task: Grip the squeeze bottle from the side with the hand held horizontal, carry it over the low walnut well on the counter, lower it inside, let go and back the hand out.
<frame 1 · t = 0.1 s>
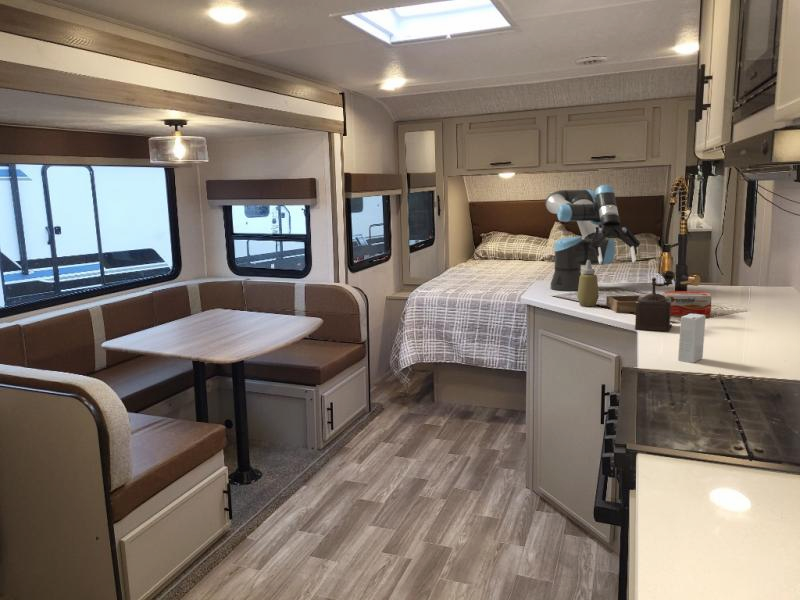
hand: (617, 262, 253), 15 cm above the worktop, tool tilted 35°, fingers open, 13 cm apart
squeeze bottle: (587, 306, 244), on the worktop
skincare box: (690, 360, 166), on the worktop
medicine box: (685, 315, 222), on the worktop
manual coffee grinder: (654, 326, 206), on the worktop
walnut well: (628, 309, 234), on the worktop
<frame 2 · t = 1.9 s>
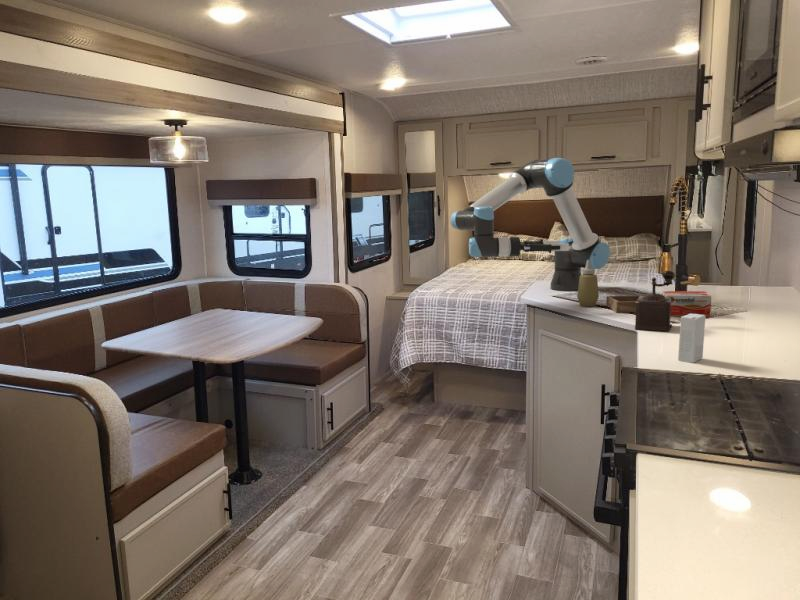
hand: (564, 245, 240), 24 cm above the worktop, tool horizontal, fingers open, 13 cm apart
nothing on the worktop moved.
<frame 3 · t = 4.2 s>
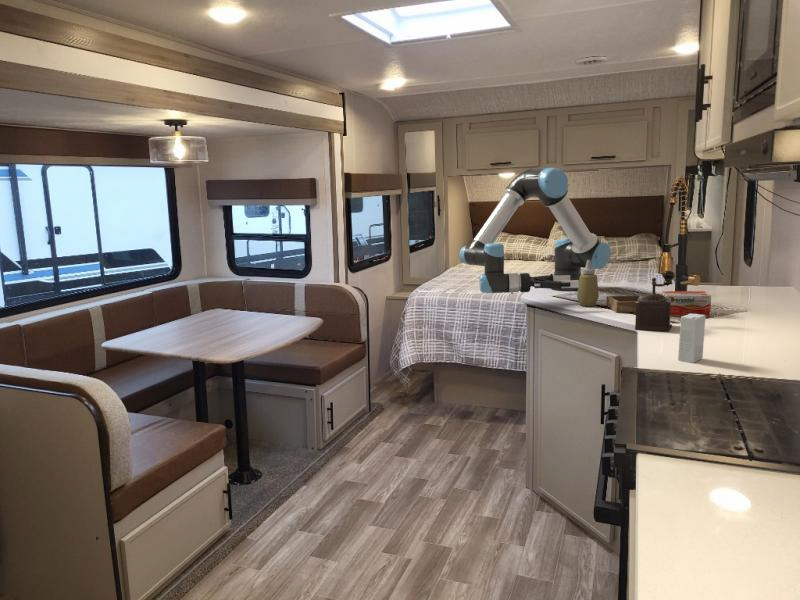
hand: (574, 281, 242), 10 cm above the worktop, tool horizontal, fingers open, 13 cm apart
nothing on the worktop moved.
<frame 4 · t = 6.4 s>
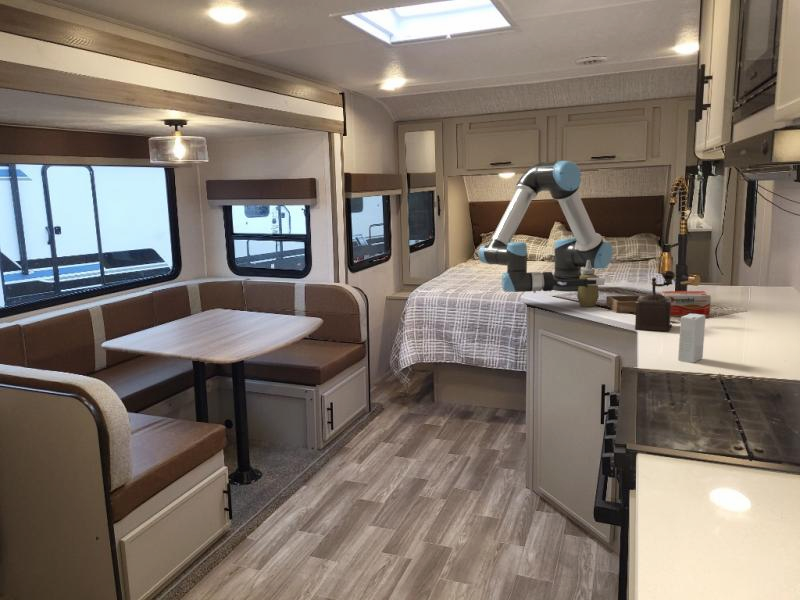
hand: (601, 280, 242), 10 cm above the worktop, tool horizontal, fingers closed on squeeze bottle, 6 cm apart
squeeze bottle: (587, 306, 244), on the worktop, touching gripper
everything else where it was.
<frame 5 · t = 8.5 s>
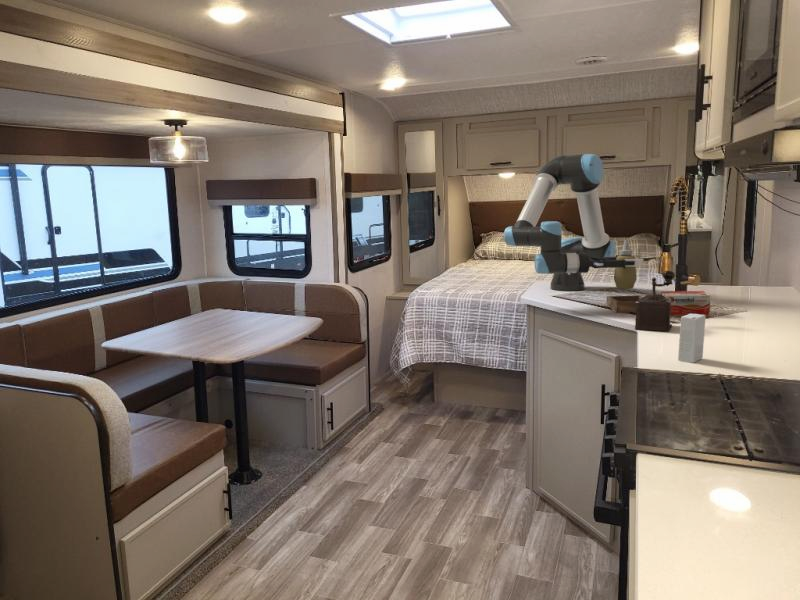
hand: (639, 261, 231), 18 cm above the worktop, tool horizontal, fingers closed on squeeze bottle, 6 cm apart
squeeze bottle: (624, 288, 233), point 8 cm above the worktop, touching gripper
everything else where it was.
when the fingers open (11 cm above the worktop, at t = 10.5 s): squeeze bottle drops 1 cm, resting on walnut well.
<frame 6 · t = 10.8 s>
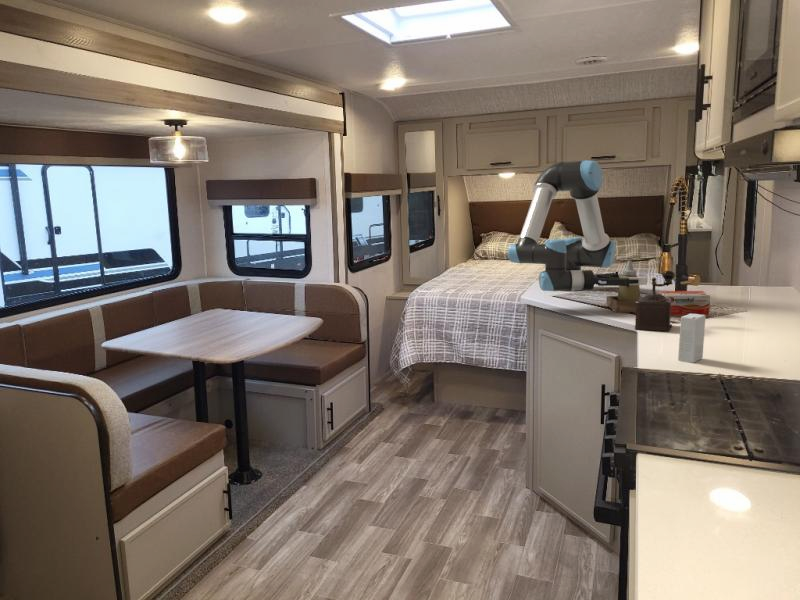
hand: (641, 278, 232), 11 cm above the worktop, tool horizontal, fingers open, 10 cm apart
squeeze bottle: (628, 308, 234), resting on walnut well
everything else where it was.
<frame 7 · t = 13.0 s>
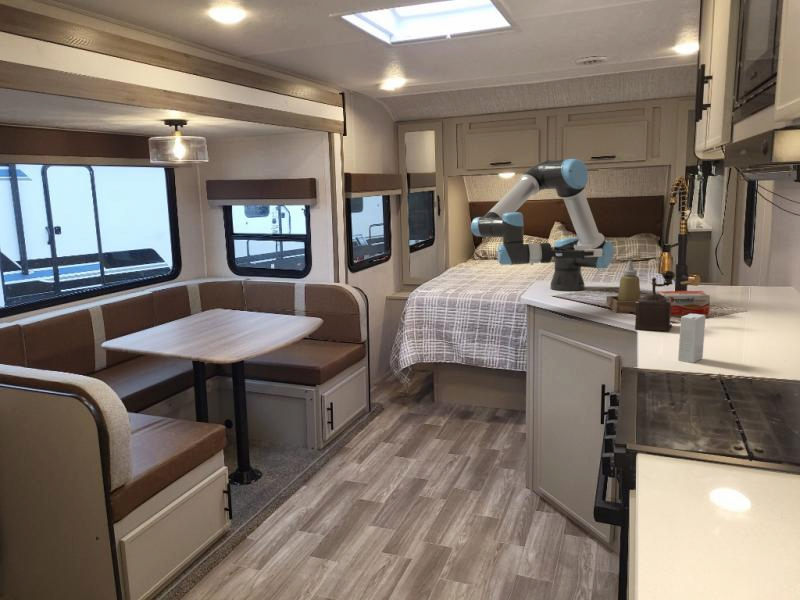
hand: (596, 250, 232), 22 cm above the worktop, tool horizontal, fingers open, 13 cm apart
nothing on the worktop moved.
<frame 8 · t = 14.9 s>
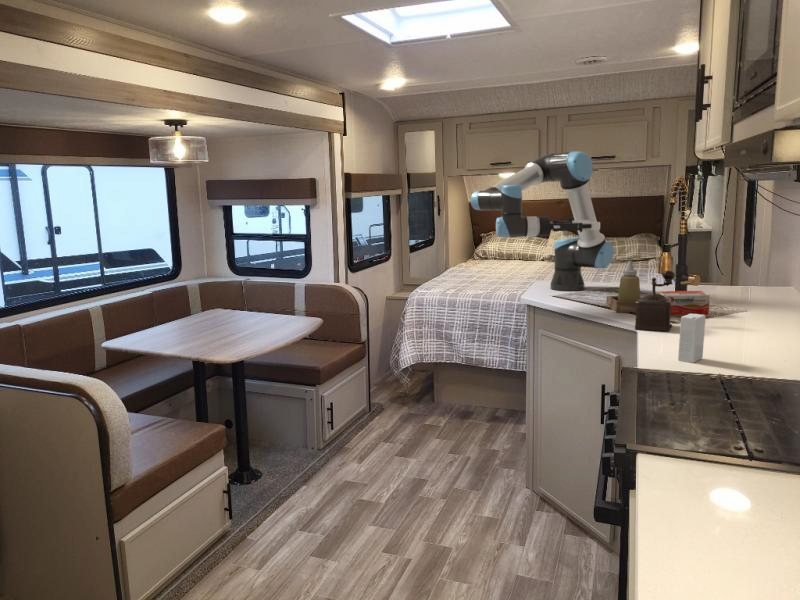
hand: (594, 224, 232), 32 cm above the worktop, tool horizontal, fingers open, 13 cm apart
nothing on the worktop moved.
at the end: squeeze bottle inside the target area on the walnut well (0.1 cm from its centre), point 0.1 cm above the walnut well's base; squeeze bottle tilted 0°; the gripper is holding nothing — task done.
